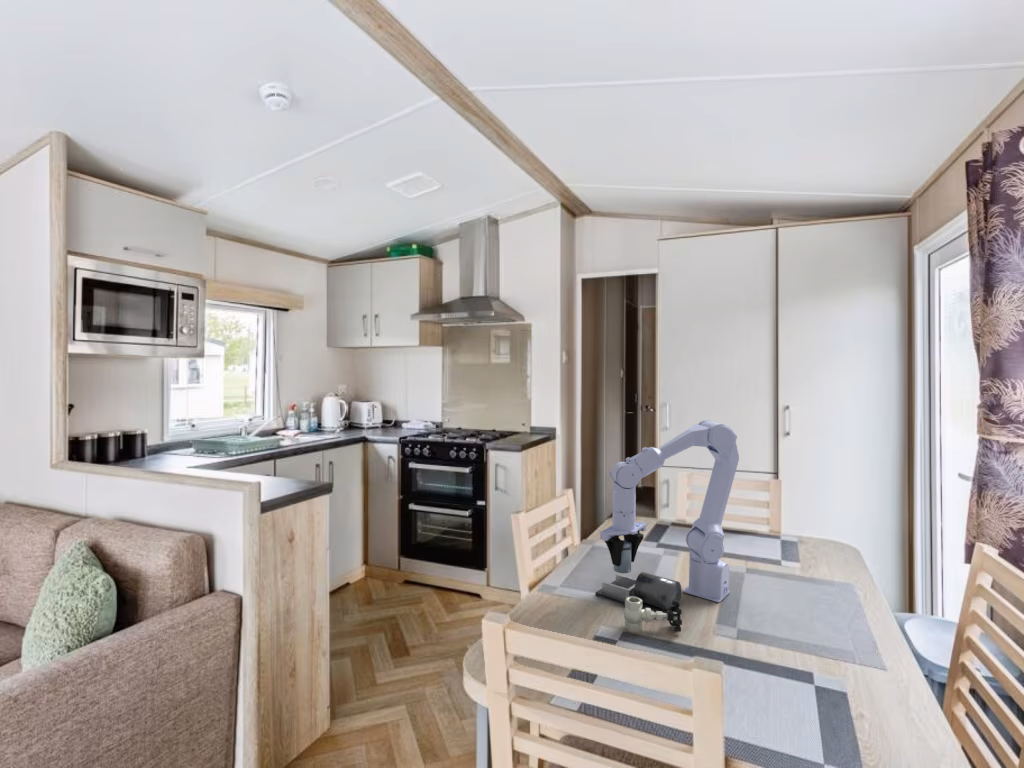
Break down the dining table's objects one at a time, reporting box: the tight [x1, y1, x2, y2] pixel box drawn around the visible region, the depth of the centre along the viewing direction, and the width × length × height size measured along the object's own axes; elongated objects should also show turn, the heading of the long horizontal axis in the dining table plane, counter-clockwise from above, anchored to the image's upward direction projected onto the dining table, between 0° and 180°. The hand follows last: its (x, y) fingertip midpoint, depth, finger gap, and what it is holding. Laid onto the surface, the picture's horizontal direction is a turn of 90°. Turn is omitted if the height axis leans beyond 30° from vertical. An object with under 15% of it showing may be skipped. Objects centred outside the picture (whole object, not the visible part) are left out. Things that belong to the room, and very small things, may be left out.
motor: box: [595, 571, 683, 611], centre depth 137 cm, size 19×10×7 cm, turn 50°
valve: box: [623, 597, 683, 633], centre depth 122 cm, size 7×7×12 cm
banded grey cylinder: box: [613, 539, 632, 574], centre depth 140 cm, size 5×5×7 cm
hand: (623, 562), depth 140 cm, fingers closed on banded grey cylinder, 4 cm apart
